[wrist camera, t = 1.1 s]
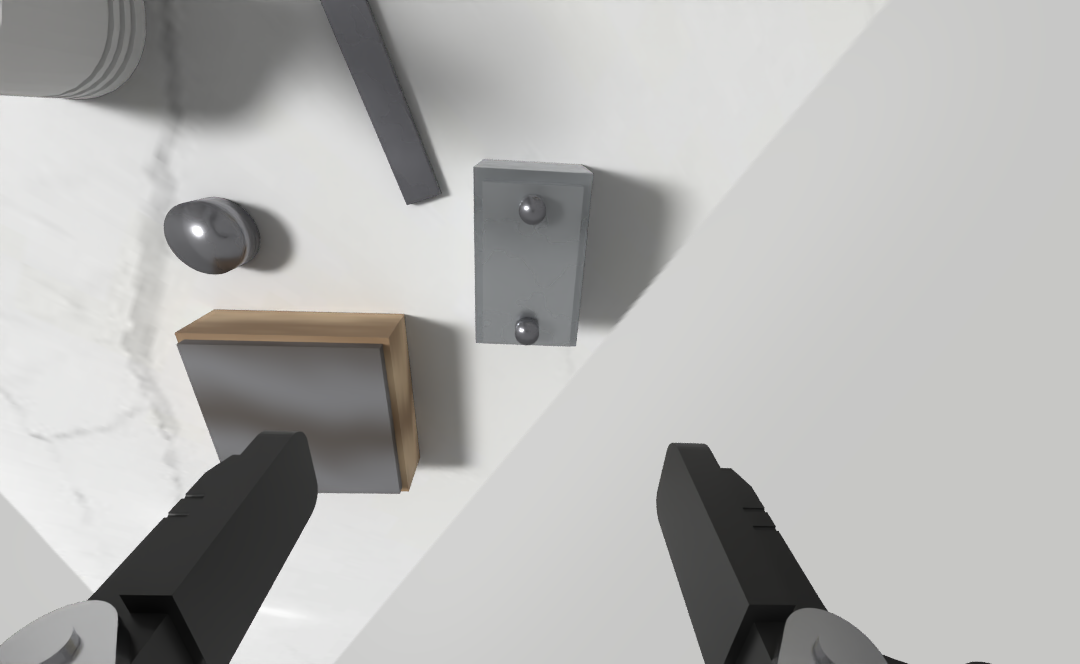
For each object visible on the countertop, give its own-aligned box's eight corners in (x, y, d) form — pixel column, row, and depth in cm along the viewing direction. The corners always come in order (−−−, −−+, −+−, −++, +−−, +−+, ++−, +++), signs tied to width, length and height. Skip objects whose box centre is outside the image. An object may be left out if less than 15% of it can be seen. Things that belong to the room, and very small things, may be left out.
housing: (483, 158, 24) (468, 170, 18) (581, 164, 24) (599, 178, 18) (484, 307, 28) (471, 358, 22) (568, 310, 28) (579, 362, 22)
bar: (305, -50, 20) (295, -58, 19) (344, -65, 20) (336, -74, 19) (411, 202, 25) (406, 205, 24) (442, 191, 25) (439, 194, 24)
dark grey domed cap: (180, 195, 25) (153, 201, 23) (252, 197, 25) (230, 203, 23) (201, 263, 26) (177, 273, 25) (268, 265, 26) (249, 275, 25)
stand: (213, 309, 27) (166, 337, 24) (404, 314, 28) (385, 342, 24) (260, 455, 33) (227, 496, 29) (419, 457, 33) (406, 498, 30)
